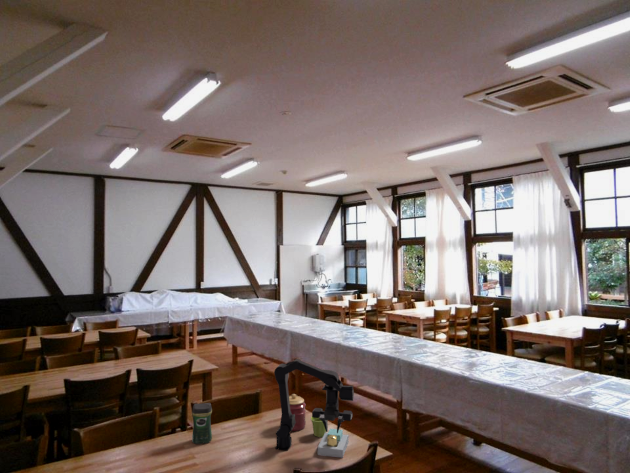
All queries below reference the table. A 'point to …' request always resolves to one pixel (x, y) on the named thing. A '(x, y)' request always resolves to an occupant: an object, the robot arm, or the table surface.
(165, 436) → the table surface
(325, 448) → the jig
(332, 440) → the brass cylinder
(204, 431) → the coffee jar
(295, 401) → the canister
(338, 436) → the teal block
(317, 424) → the plant pot
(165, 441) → the table surface
